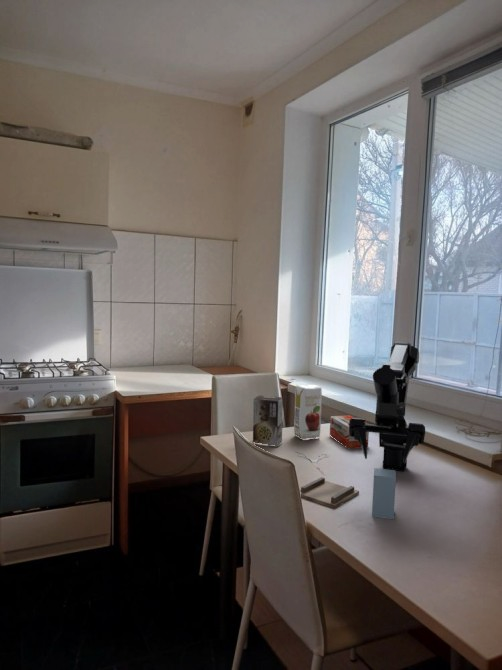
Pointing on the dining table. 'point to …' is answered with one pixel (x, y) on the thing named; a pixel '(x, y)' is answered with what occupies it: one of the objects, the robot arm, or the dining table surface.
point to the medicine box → (344, 431)
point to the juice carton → (307, 411)
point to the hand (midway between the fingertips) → (385, 460)
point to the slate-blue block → (384, 493)
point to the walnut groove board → (327, 493)
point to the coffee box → (267, 420)
